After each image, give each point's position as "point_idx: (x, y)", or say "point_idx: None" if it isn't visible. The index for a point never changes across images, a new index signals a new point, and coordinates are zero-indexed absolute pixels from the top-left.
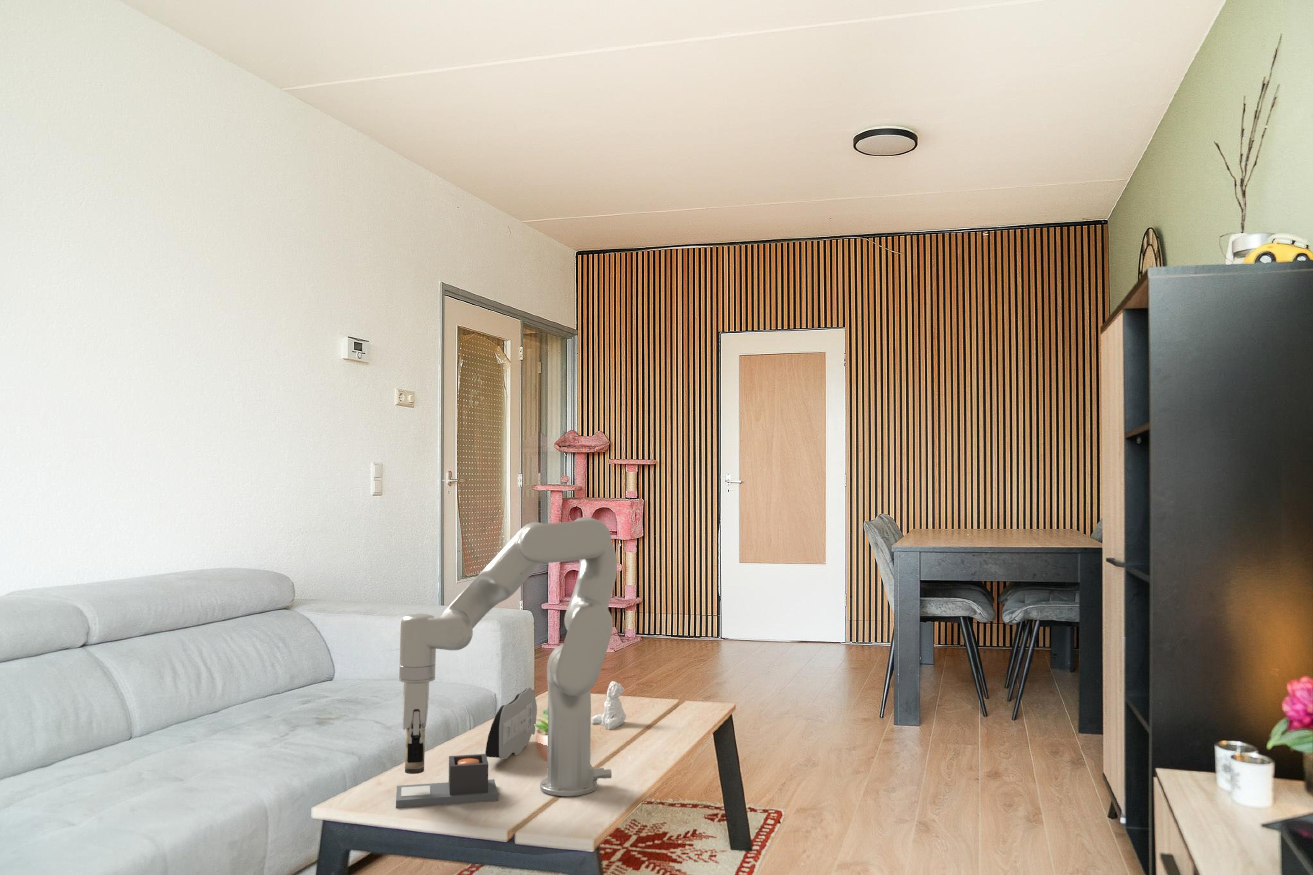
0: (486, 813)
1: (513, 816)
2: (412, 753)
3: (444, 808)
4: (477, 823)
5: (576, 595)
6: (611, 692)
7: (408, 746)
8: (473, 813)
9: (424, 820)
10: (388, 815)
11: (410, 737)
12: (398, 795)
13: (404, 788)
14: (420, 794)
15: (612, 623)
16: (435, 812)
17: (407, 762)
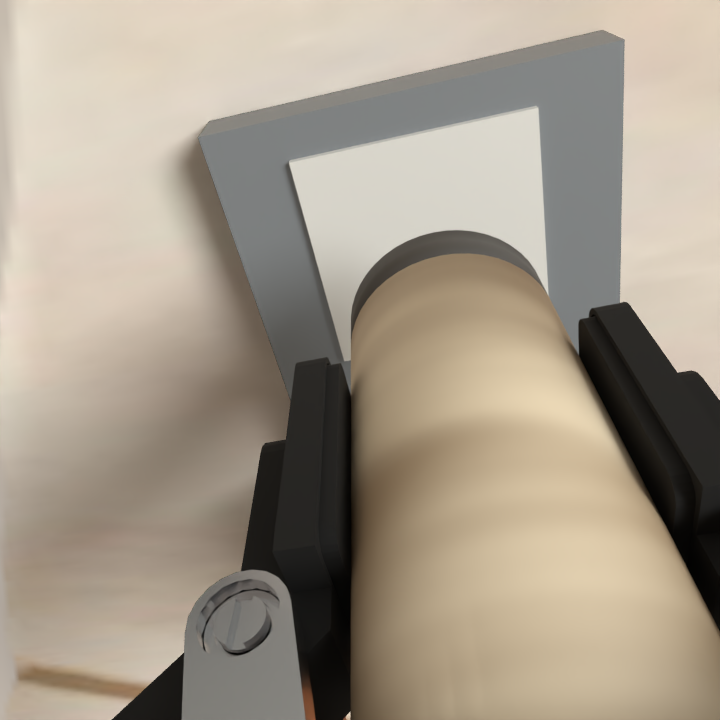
0: (187, 584)
1: (167, 659)
2: (259, 497)
3: (237, 420)
4: (46, 571)
5: None
6: None
7: (277, 522)
8: (178, 543)
9: (9, 359)
10: (31, 103)
11: (192, 718)
12: (333, 126)
13: (500, 143)
14: (336, 300)
15: None
16: (161, 389)
17: (373, 331)
